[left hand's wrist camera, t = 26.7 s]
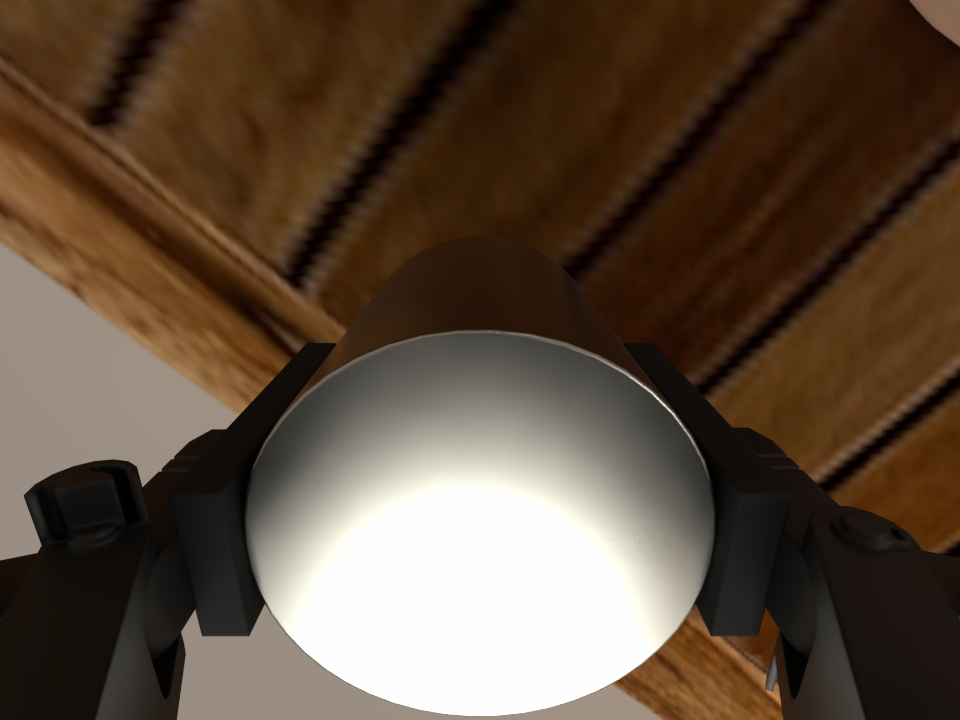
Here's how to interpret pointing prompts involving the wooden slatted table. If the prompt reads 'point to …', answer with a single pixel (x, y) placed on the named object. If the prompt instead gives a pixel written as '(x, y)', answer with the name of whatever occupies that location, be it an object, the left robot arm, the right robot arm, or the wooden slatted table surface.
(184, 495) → the left robot arm
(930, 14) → the anatomical model
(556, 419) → the canister
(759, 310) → the wooden slatted table surface
